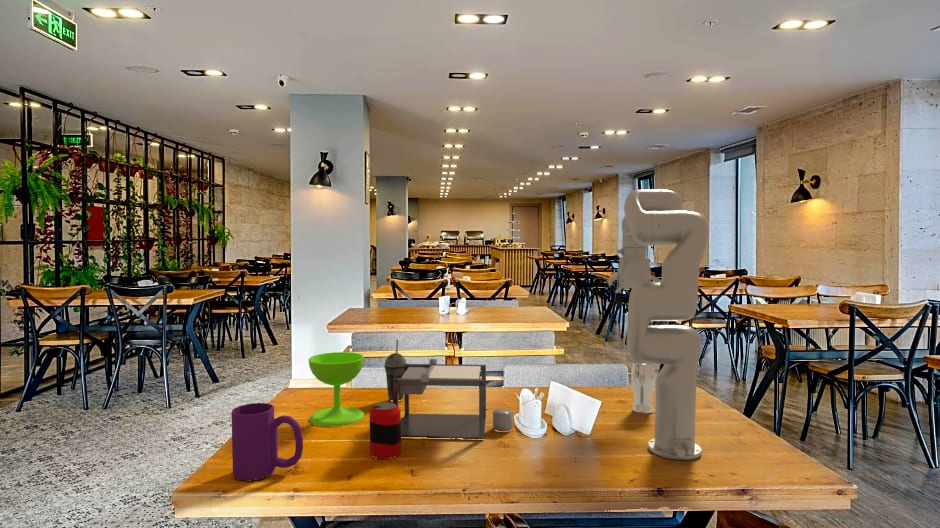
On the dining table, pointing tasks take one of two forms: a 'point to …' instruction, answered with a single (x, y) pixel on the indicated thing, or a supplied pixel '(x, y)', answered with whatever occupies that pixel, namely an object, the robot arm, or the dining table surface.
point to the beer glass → (643, 386)
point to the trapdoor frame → (442, 423)
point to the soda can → (385, 430)
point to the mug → (259, 441)
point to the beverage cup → (394, 371)
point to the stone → (502, 419)
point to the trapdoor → (437, 375)
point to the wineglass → (336, 385)
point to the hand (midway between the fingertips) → (633, 305)
